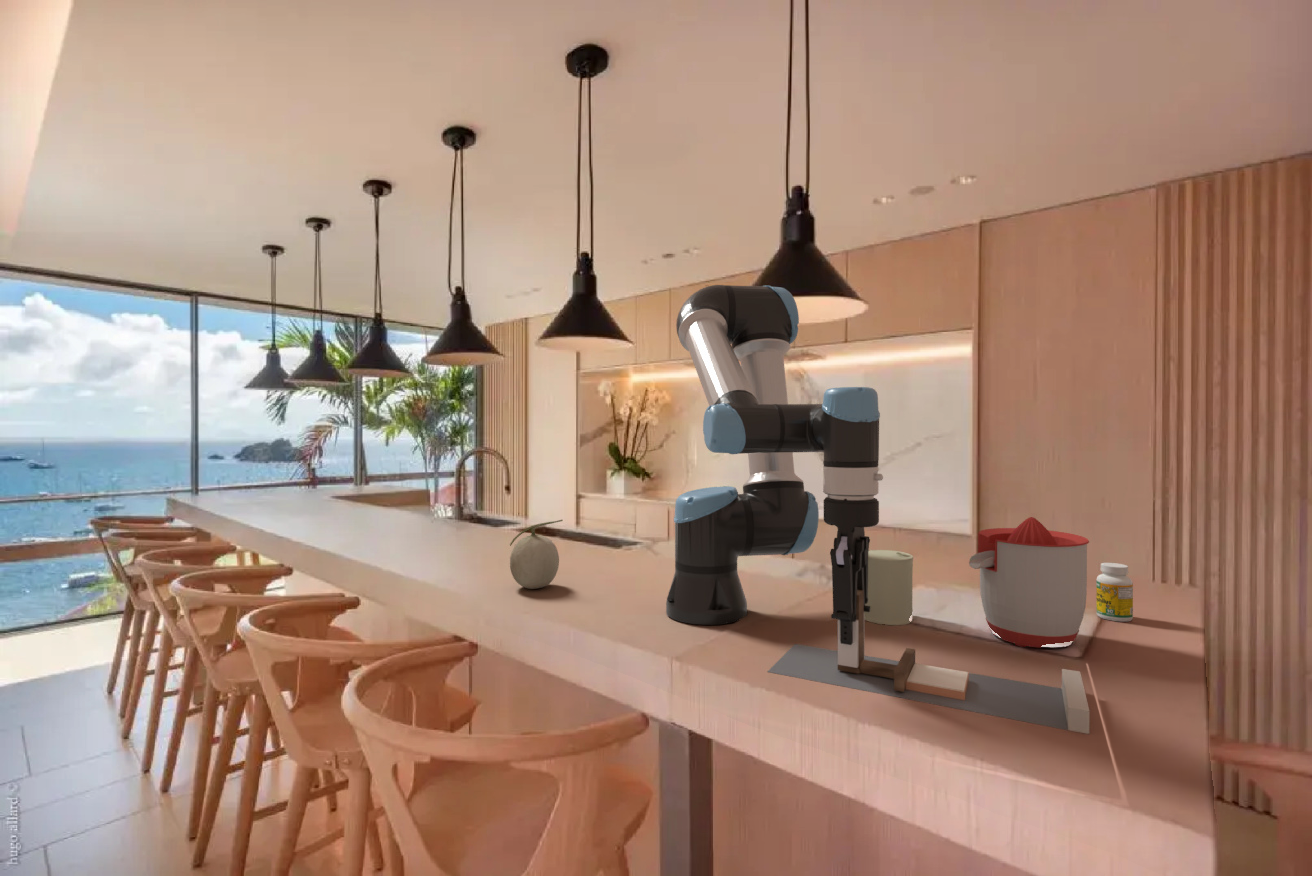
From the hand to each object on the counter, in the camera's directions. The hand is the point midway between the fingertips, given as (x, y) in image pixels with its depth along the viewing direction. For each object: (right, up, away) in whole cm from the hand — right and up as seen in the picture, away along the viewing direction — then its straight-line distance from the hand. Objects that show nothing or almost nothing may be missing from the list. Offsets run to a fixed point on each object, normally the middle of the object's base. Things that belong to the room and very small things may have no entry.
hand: (851, 660), depth 91 cm
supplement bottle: (+55, -1, +24) cm, 60 cm away
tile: (+10, -1, -5) cm, 11 cm away
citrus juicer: (+33, -1, +14) cm, 36 cm away
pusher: (+3, -1, -2) cm, 3 cm away
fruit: (-55, -1, +48) cm, 73 cm away
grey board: (+8, -2, -4) cm, 9 cm away
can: (+14, -1, +26) cm, 29 cm away
